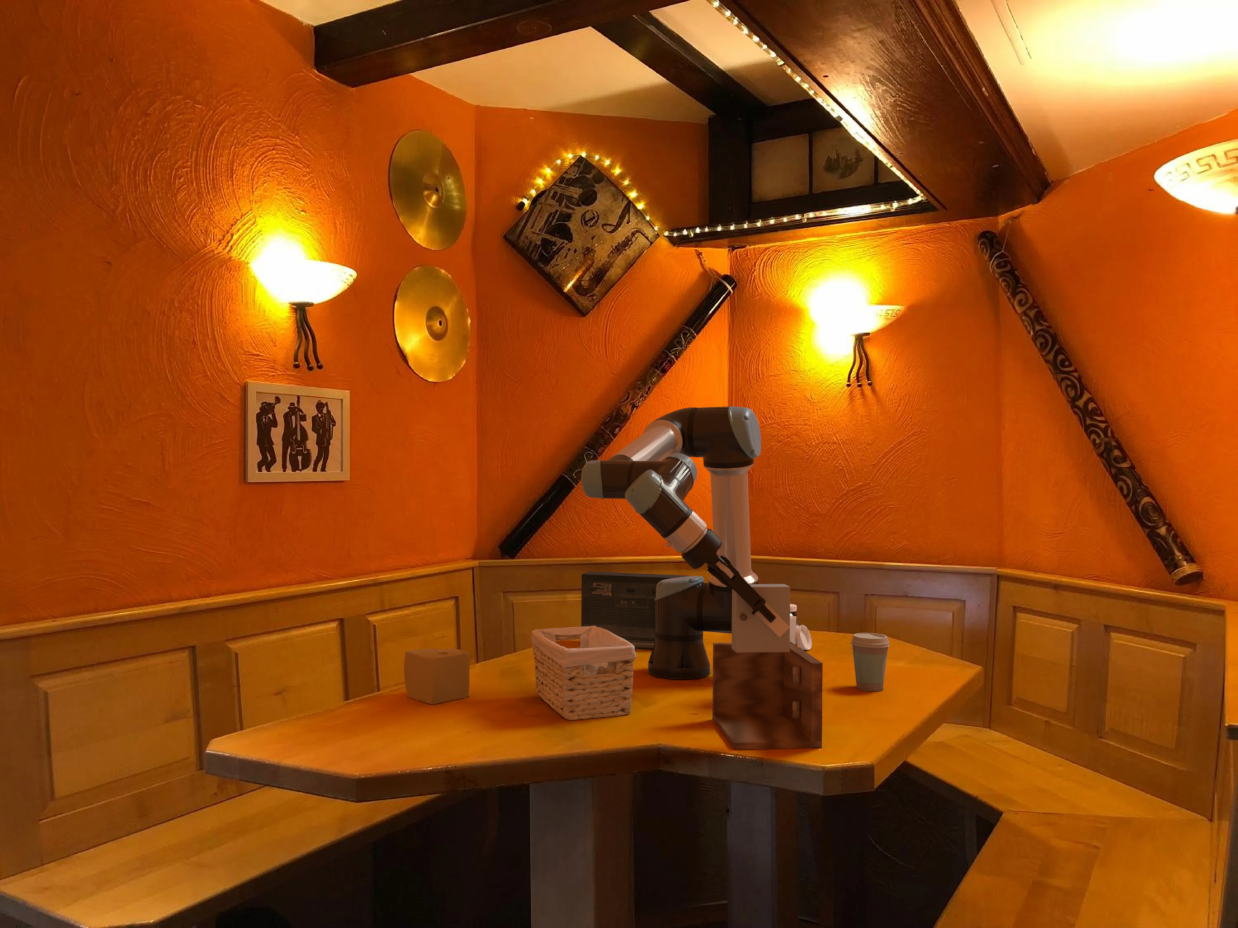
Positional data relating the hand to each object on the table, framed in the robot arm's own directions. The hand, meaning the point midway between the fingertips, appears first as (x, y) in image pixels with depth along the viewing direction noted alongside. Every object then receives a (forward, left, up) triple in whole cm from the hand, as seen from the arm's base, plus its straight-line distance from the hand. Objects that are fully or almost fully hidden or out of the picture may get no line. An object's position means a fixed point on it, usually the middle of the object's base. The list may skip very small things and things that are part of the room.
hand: (780, 629), depth 177 cm
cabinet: (-4, +1, -20) cm, 20 cm away
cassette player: (-71, +56, -20) cm, 93 cm away
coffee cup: (-1, +48, -20) cm, 52 cm away
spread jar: (-36, +81, -20) cm, 91 cm away
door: (-3, -2, -4) cm, 5 cm away
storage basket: (-44, -4, -21) cm, 48 cm away
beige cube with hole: (-73, -17, -20) cm, 77 cm away
